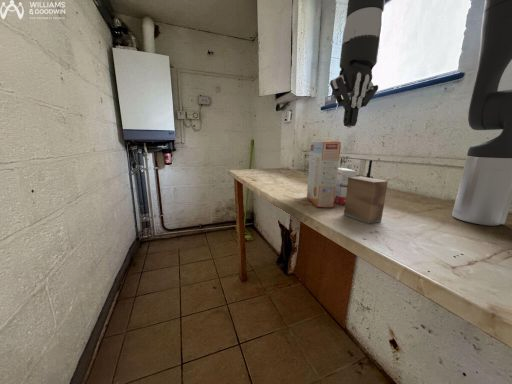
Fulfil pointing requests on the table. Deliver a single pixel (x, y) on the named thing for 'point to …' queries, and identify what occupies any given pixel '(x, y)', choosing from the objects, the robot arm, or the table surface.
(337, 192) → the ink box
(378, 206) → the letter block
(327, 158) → the cracker box
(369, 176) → the walkie-talkie
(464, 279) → the table surface
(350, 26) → the robot arm
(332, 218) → the table surface
